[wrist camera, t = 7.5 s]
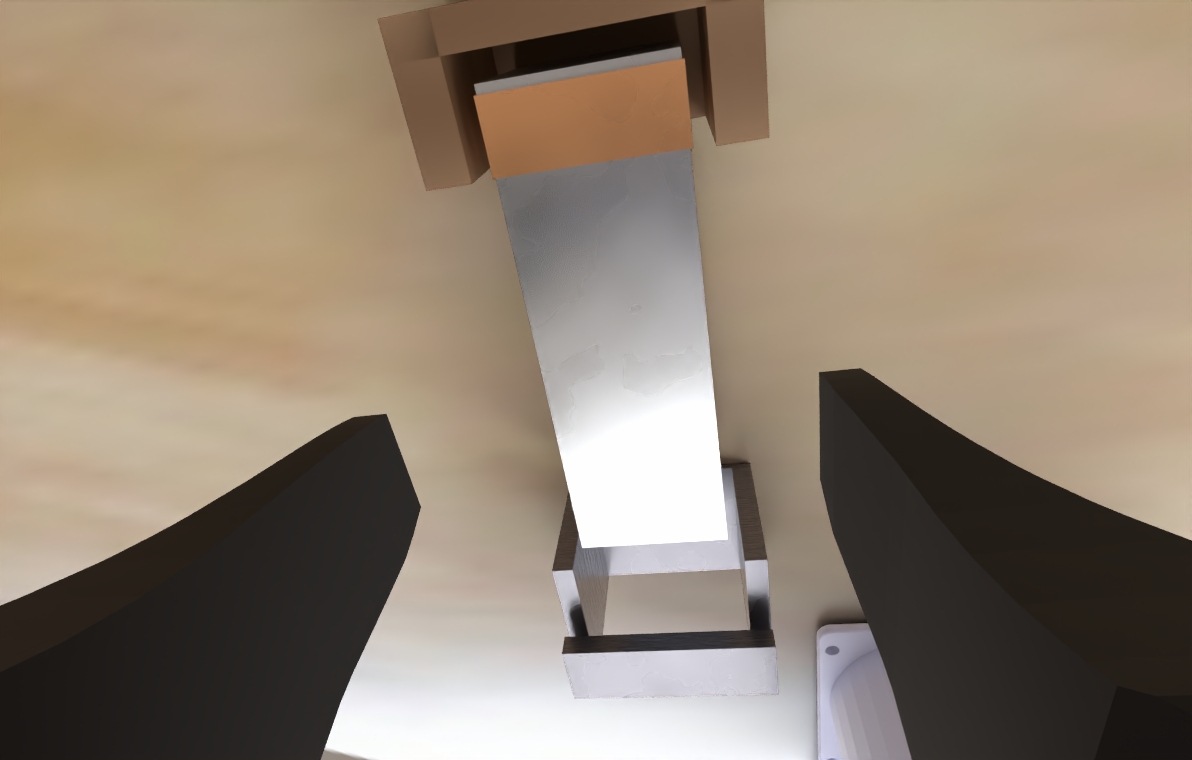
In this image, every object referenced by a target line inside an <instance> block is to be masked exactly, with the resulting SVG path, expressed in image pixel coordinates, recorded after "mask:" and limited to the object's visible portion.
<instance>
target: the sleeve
mask: <svg viewBox="0 0 1192 760" xmlns="http://www.w3.org/2000/svg"><path fill="white" fill-rule="evenodd" d="M721 475H722V485H723V496H724V506H725V517H726V527H727V538H728V539H725V540H708V541H691V542H674V543H656V544H639V545H622V546H605V547H588V548H582V544H581V540H580V536H579V532H578V527H577V523H576V519H575V514H574V510H573V506H572V502H571V497H570V493H569V492H568V497H567V502H566V507H565V511H564V516H563V521H562V526H561V531H560V535H559V540H558V545H557V550H556V555H555V560H554V564H553V569H552V573H553V577H554V580H555V584H556V588H557V591H558V595H559V599H560V603H561V606H562V610H563V614H564V618H565V621H566V625H567V629H568V632H569V636H570V637H565V640H564V646H563V652H562V655H563V659H564V663H565V666H566V670H567V673H568V677H569V680H570V684H571V687H572V691H573V695H574V698H575V699H578V698H627V697H676V696H725V695H774V694H778V679H777V661H776V646H775V640H774V634H773V629H771V613H770V596H769V579H768V562H767V555H766V550H765V544H764V538H763V533H762V527H761V522H760V516H759V511H758V505H757V500H756V494H755V489H754V483H753V478H752V472H751V466H750V463H743V464H730V465H721ZM728 569H741V577H742V585H743V592H744V600H745V608H746V616H747V623H748V630H741V631H713V632H685V633H658V634H630V635H603V627H604V618H605V608H606V599H607V589H608V580H609V576H611V575H631V574H650V573H670V572H689V571H709V570H728Z"/></svg>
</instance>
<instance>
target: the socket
mask: <svg viewBox="0 0 1192 760" xmlns="http://www.w3.org/2000/svg"><path fill="white" fill-rule="evenodd" d="M378 23H379V26H380V30H381V33H382V37H383V40H384V44H385V47H386V51H387V54H388V58H389V61H390V65H391V68H392V72H393V75H394V79H395V82H396V86H397V89H398V93H399V96H400V100H401V104H402V107H403V111H404V114H405V118H406V121H407V125H408V128H409V132H410V135H411V139H412V142H413V146H414V149H415V153H416V156H417V160H418V163H419V167H420V170H421V174H422V177H423V181H424V184H425V188H426V191H429V190H436V189H442V188H449V187H455V186H462V185H468V184H472V183H473V182H475V181H476V180H477V179H478V178H479V177H480V176H481V175H483V174H484V173H485V172H486V171H487V170H488V169H489V168H490V164H489V160H488V156H487V151H486V147H485V143H484V139H483V135H482V130H481V126H480V122H479V118H478V113H477V109H476V105H475V101H474V96H475V95H476V91H475V87H474V84H476V83H479V82H481V81H484V80H487V79H489V78H492V77H495V76H497V75H500V74H503V73H505V72H508V71H511V70H513V69H516V68H522V67H527V66H533V65H538V64H544V63H549V62H555V61H560V60H566V59H571V58H577V57H582V56H587V55H593V54H598V53H604V52H609V51H615V50H620V49H626V48H631V47H637V46H642V45H647V44H653V43H658V42H664V41H669V40H675V39H678V40H679V43H680V46H681V49H682V52H683V55H684V58H685V67H686V77H687V88H688V99H689V110H690V119H691V118H697V117H703V116H706V118H707V121H708V123H709V126H710V129H711V132H712V135H713V137H714V140H715V143H716V146H719V145H726V144H732V143H738V142H745V141H751V140H758V139H764V138H769V118H768V93H767V69H766V44H765V19H764V0H468V1H463V2H458V3H453V4H448V5H443V6H438V7H433V8H428V9H423V10H419V11H414V12H409V13H404V14H399V15H394V16H389V17H384V18H379V19H378Z"/></svg>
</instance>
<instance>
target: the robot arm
mask: <svg viewBox="0 0 1192 760" xmlns="http://www.w3.org/2000/svg"><path fill="white" fill-rule="evenodd" d="M819 396H820V480H821V484H822V489H823V493H824V497H825V502H826V506H827V510H828V514H829V518H830V522H831V526H832V530H833V534H834V537H835V539H836V542H837V545H838V547H839V550H840V552H841V555H842V558H843V560H844V563H845V566H846V568H847V571H848V573H849V576H850V579H851V581H852V584H853V586H854V589H855V591H856V594H857V597H858V599H859V602H860V604H861V607H862V609H863V612H864V614H865V617H866V620H867V622H868V623H857V624H830V625H825V626H823V627H821V628H820V629H819V630H818V631H817V713H818V760H1192V540H1189V539H1186V538H1183V537H1181V536H1178V535H1175V534H1173V533H1170V532H1168V531H1165V530H1162V529H1160V528H1157V527H1154V526H1152V525H1149V524H1147V523H1144V522H1141V521H1139V520H1136V519H1133V518H1131V517H1128V516H1126V515H1123V514H1121V513H1118V512H1116V511H1113V510H1111V509H1109V508H1106V507H1104V506H1101V505H1099V504H1097V503H1094V502H1092V501H1090V500H1087V499H1085V498H1083V497H1081V496H1079V495H1077V494H1074V493H1072V492H1070V491H1068V490H1066V489H1064V488H1061V487H1059V486H1057V485H1055V484H1053V483H1051V482H1049V481H1046V480H1044V479H1042V478H1040V477H1038V476H1036V475H1034V474H1032V473H1030V472H1028V471H1026V470H1024V469H1022V468H1020V467H1018V466H1016V465H1014V464H1012V463H1011V462H1009V461H1007V460H1005V459H1003V458H1002V457H1000V456H998V455H996V454H994V453H993V452H991V451H989V450H987V449H985V448H984V447H982V446H980V445H978V444H977V443H975V442H973V441H971V440H970V439H968V438H966V437H965V436H963V435H961V434H960V433H958V432H956V431H955V430H953V429H952V428H950V427H948V426H947V425H945V424H944V423H942V422H940V421H939V420H937V419H936V418H934V417H933V416H931V415H930V414H928V413H927V412H925V411H923V410H922V409H920V408H919V407H917V406H916V405H914V404H913V403H912V402H910V401H909V400H907V399H906V398H904V397H903V396H901V395H900V394H898V393H897V392H895V391H894V390H893V389H891V388H890V387H888V386H887V385H885V384H884V383H882V382H881V381H880V380H878V379H877V378H875V377H874V376H872V375H871V374H869V373H868V372H866V371H864V370H863V369H861V368H859V369H849V370H838V371H828V372H819ZM420 508H421V506H420V503H419V501H418V498H417V495H416V493H415V490H414V487H413V485H412V482H411V479H410V476H409V474H408V471H407V468H406V466H405V463H404V460H403V457H402V455H401V452H400V449H399V447H398V444H397V441H396V439H395V436H394V433H393V430H392V428H391V425H390V422H389V420H388V417H387V414H381V415H371V416H360V417H353V418H351V419H349V420H347V421H345V422H343V423H341V424H339V425H337V426H335V427H333V428H331V429H330V430H328V431H326V432H325V433H323V434H321V435H319V436H318V437H316V438H315V439H313V440H311V441H310V442H308V443H306V444H305V445H303V446H302V447H300V448H298V449H297V450H295V451H294V452H292V453H290V454H289V455H287V456H286V457H284V458H283V459H281V460H279V461H278V462H276V463H275V464H273V465H272V466H270V467H268V468H267V469H265V470H264V471H262V472H261V473H259V474H257V475H256V476H254V477H253V478H251V479H249V480H248V481H246V482H245V483H243V484H241V485H240V486H238V487H236V488H235V489H233V490H231V491H230V492H228V493H226V494H225V495H223V496H221V497H220V498H218V499H216V500H215V501H213V502H211V503H210V504H208V505H206V506H205V507H203V508H201V509H200V510H198V511H196V512H194V513H193V514H191V515H189V516H188V517H186V518H184V519H182V520H181V521H179V522H177V523H175V524H174V525H172V526H170V527H168V528H166V529H164V530H163V531H161V532H159V533H157V534H155V535H153V536H151V537H149V538H147V539H146V540H144V541H142V542H140V543H138V544H136V545H134V546H132V547H130V548H128V549H126V550H124V551H122V552H120V553H118V554H116V555H114V556H112V557H110V558H108V559H106V560H104V561H102V562H99V563H97V564H95V565H93V566H91V567H88V568H86V569H84V570H82V571H79V572H77V573H75V574H73V575H70V576H68V577H66V578H64V579H61V580H59V581H57V582H55V583H52V584H50V585H48V586H46V587H43V588H41V589H39V590H37V591H34V592H32V593H30V594H28V595H25V596H23V597H21V598H18V599H16V600H13V601H11V602H8V603H6V604H3V605H1V606H0V760H321V757H322V754H323V751H324V748H325V745H326V743H327V740H328V737H329V734H330V731H331V728H332V725H333V722H334V719H335V717H336V714H337V711H338V708H339V705H340V702H341V700H342V697H343V695H344V693H345V690H346V688H347V685H348V683H349V681H350V678H351V676H352V674H353V671H354V669H355V667H356V665H357V663H358V661H359V659H360V656H361V654H362V652H363V650H364V648H365V646H366V644H367V642H368V639H369V637H370V635H371V633H372V631H373V629H374V627H375V625H376V622H377V620H378V618H379V616H380V614H381V612H382V610H383V607H384V605H385V603H386V601H387V599H388V597H389V595H390V592H391V590H392V588H393V586H394V584H395V581H396V579H397V577H398V575H399V573H400V570H401V568H402V566H403V564H404V561H405V559H406V556H407V553H408V550H409V547H410V544H411V540H412V537H413V534H414V530H415V527H416V523H417V519H418V516H419V512H420ZM829 646H831V647H829Z"/></svg>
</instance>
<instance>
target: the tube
mask: <svg viewBox="0 0 1192 760" xmlns="http://www.w3.org/2000/svg"><path fill="white" fill-rule="evenodd" d="M474 87H475V91H476V95H475V96H474V101H475V105H476V109H477V113H478V118H479V122H480V126H481V130H482V135H483V139H484V143H485V147H486V151H487V156H488V160H489V164H490V168H491V173H492V177H493V179H496V181H497V185H498V189H499V194H500V198H501V202H502V206H503V211H504V215H505V219H506V224H507V228H508V232H509V236H510V241H511V245H512V249H513V253H514V258H515V262H516V266H517V271H518V275H519V279H520V283H521V288H522V292H523V296H524V301H525V305H526V309H527V313H528V318H529V322H530V326H531V330H532V335H533V339H534V343H535V348H536V352H537V356H538V360H539V365H540V369H541V373H542V378H543V382H544V386H545V390H546V395H547V399H548V403H549V407H550V412H551V416H552V420H553V425H554V429H555V433H556V437H557V442H558V446H559V450H560V455H561V459H562V463H563V467H564V472H565V476H566V480H567V484H568V489H569V493H570V497H571V502H572V506H573V510H574V514H575V519H576V523H577V527H578V532H579V536H580V540H581V544H582V548H588V547H605V546H622V545H639V544H656V543H674V542H691V541H708V540H725V539H728V538H727V527H726V517H725V506H724V496H723V485H722V475H721V464H720V453H719V443H718V432H717V422H716V411H715V401H714V390H713V380H712V369H711V359H710V348H709V338H708V327H707V317H706V306H705V296H704V285H703V275H702V264H701V254H700V243H699V233H698V222H697V212H696V201H695V191H694V180H693V170H692V159H691V148H693V142H692V131H691V120H690V110H689V99H688V88H687V77H686V67H685V58H684V55H683V52H682V49H681V46H680V43H679V40H678V39H675V40H669V41H664V42H658V43H653V44H647V45H642V46H637V47H631V48H626V49H620V50H615V51H609V52H604V53H598V54H593V55H587V56H582V57H577V58H571V59H566V60H560V61H555V62H549V63H544V64H538V65H533V66H527V67H522V68H516V69H513V70H511V71H508V72H505V73H503V74H500V75H497V76H495V77H492V78H489V79H487V80H484V81H481V82H479V83H476V84H474Z"/></svg>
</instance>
